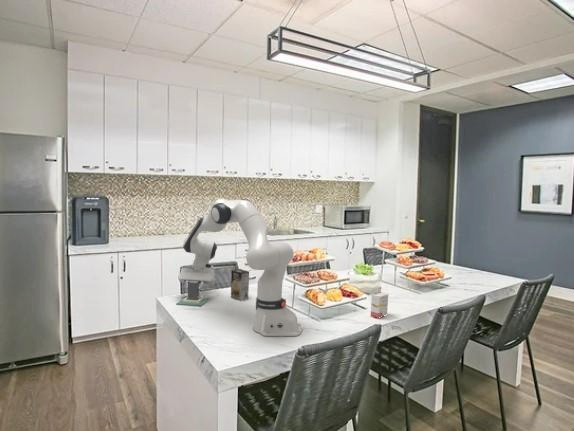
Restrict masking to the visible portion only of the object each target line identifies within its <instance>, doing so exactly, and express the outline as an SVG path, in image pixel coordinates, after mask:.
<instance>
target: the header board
mask: <svg viewBox="0 0 574 431" xmlns="http://www.w3.org/2000/svg"><path fill="white" fill-rule="evenodd" d="M210 299H211V298H210V297H204V296H198V297H197V298H191V297H188V295H186V296H184V297H183V298H181V299H180V300H179V301H177V302H176V303H175V304H176V306H189V307H202V306H204V305H205V304H206V303H207V302H208V301H209V300H210Z"/></svg>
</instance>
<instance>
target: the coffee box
mask: <svg viewBox="0 0 574 431" xmlns="http://www.w3.org/2000/svg"><path fill="white" fill-rule="evenodd" d="M230 274H231V278H230V279H231V280H230V281H231V282H230V298H231V299H234V300H237V301H240V302H242V301H245V300H249V291H250V290H249V288H250V287H249V286H250V271H248V270H244V269H243V268H237V269H232V270H231V273H230Z"/></svg>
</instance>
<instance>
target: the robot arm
mask: <svg viewBox="0 0 574 431" xmlns="http://www.w3.org/2000/svg"><path fill="white" fill-rule="evenodd" d="M232 223H233V224H234V223H238V225H239V227H240V228H241V231H242V232H243V234H244V236H245V238H246V240H247V244H248V250H247V252H246V256H245V257H246V258H245V259H246V263H247V265H248V267H249V268H250V269H251V270H255V271H256V270H257V271H263V273H262V275H261V276H260V277H259V279H258V280H257V293H256V294H257V295H256V296H257V297H256V299H255V311H256V313H255V318H254V322H253V325H252V330H253V331H255V333H256V332H257V333H258V334H261V335H262V336H263V337H298V336H299V335H301V334H302V332H303V325H302V324H301V323H299V322H298V317H297V315H296V312H295V313H294V312H293V311H292V310H291V309H290V308H288V307H287V306H286V305H287V300H286V298H283V296H282V294H283V281H284V277H285V274H286V271H287V268H288V265H290V263H291V261H292V260H293V258H294V250H293V247H292V246H291V245H290V244H289V243H286V242H273V243H271V242H269V240H268V238H267V236H268V234H269V231H270V229H269V226H268V225H267V223H266V221H265V219H264V218H263V217H262V214H261V213H260V212H259V210H258V208H257V207H256V206H255V205H254V203H252V201H251V200H249V199H245V198H242V199H231V200H230V199H229V200H228V199H226V198H218V199H216V200H215V201H214V203H213V204H212V206H211V207H210V210H209V211H208V214H207V215H206V216H204V217H200V219H198V221H197V222H196V223H195V225H194V226H193V228H192V229H191V231H190V233H189V234H188V235H187V237H185V239H184V240H183V245H182V246H183V249H184V252H185V253H189V254H194V255H195V258H194V260H193V263H192V264H191V266H184V267H182V268H181V269H180V272H179V274H178V276H177V277H178V280H179V282H180V283H185V284H186V286H185V288H186V290H188V283H189V281H191V280H192V281H199V286H198V288H197V289H198V290H199V291H201V290H202V288H203V287H204V286H205V285H206V284H207V285H208V284H209V285H213V284H214V283H215V281H216V269H215V266H214V265H213V264H210V261H211V260H212V259H214V258H215V256H216V253H217V252H216V251H217V249H218V246H217V244H216V242H214V241H212V240H210V239H206V238H202V237H200V236H199V234H201V233H202V232H203V233H204V232H210V233H217V232H218V233H219V232H221V231H223V230H224V229H225V228H227V225H228V224H232Z"/></svg>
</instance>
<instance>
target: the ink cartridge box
mask: <svg viewBox="0 0 574 431" xmlns="http://www.w3.org/2000/svg"><path fill="white" fill-rule="evenodd" d="M370 303H371V305H370V317H371V316H373V317H372V318H374V317H377V318H379V317H381V316H384V315H386V314H387V315H388V304H389V293H387V292H383V291H382V286H377V287H373V288H372V291H371V302H370ZM377 318H376V319H377Z"/></svg>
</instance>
